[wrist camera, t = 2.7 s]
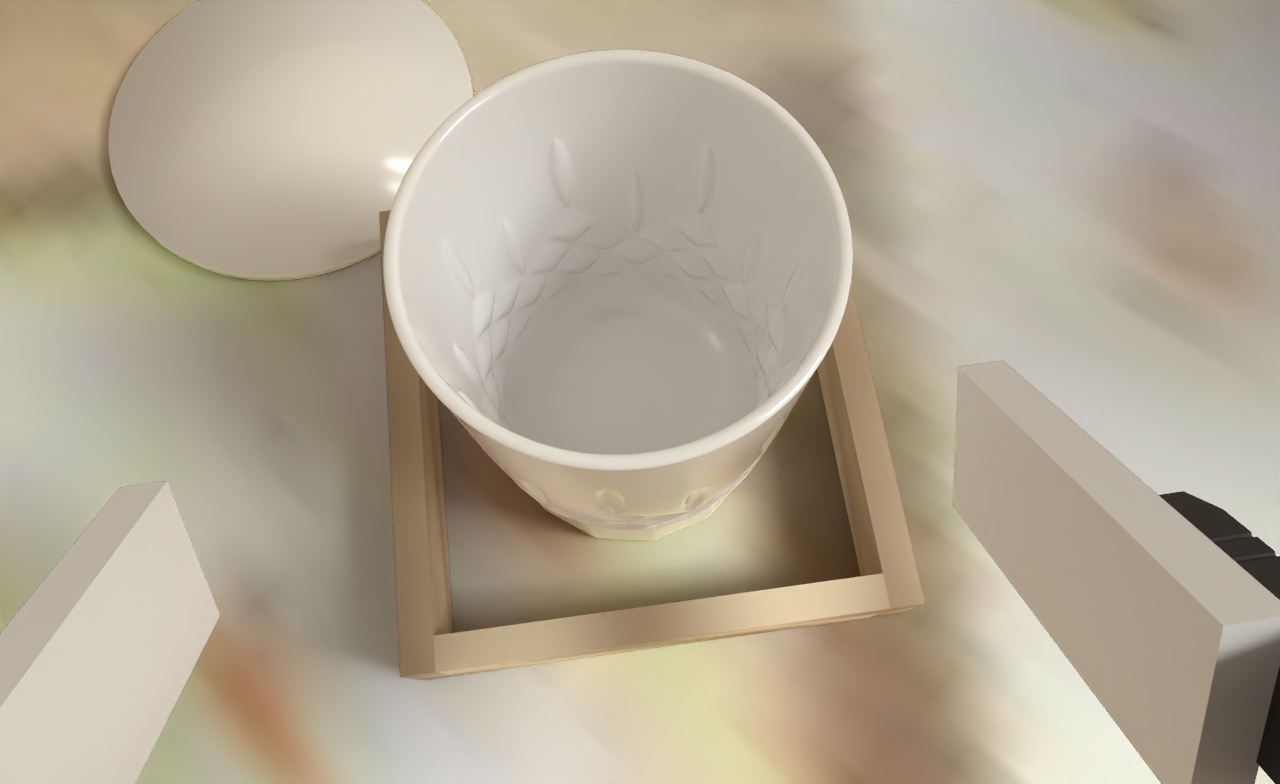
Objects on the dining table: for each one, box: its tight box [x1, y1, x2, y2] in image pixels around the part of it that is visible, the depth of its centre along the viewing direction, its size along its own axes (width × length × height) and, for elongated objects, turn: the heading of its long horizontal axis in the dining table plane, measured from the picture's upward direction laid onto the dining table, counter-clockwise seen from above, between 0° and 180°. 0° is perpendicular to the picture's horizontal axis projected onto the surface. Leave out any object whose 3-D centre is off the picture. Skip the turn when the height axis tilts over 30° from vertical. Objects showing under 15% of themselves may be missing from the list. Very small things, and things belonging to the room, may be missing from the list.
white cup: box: [383, 50, 853, 541], centre depth 20 cm, size 8×8×10 cm
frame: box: [379, 210, 925, 680], centre depth 24 cm, size 12×12×2 cm
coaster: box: [108, 0, 474, 281], centre depth 28 cm, size 11×11×1 cm
